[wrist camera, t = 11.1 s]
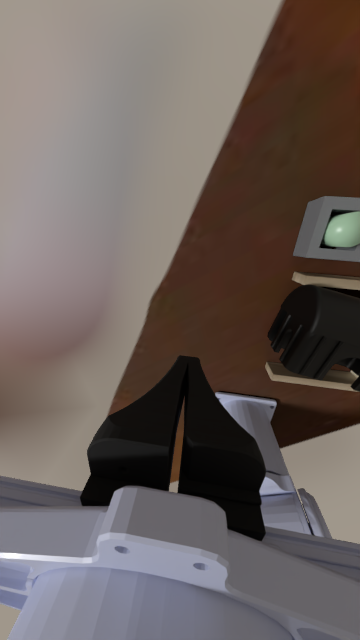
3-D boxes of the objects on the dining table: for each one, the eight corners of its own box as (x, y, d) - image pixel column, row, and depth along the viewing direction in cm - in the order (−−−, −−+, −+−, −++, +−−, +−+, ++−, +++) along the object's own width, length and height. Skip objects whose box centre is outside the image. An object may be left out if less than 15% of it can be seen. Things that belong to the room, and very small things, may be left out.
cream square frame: (354, 378, 22) (370, 393, 20) (265, 367, 23) (271, 380, 21) (407, 281, 18) (436, 287, 16) (294, 271, 19) (306, 275, 16)
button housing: (340, 259, 18) (361, 261, 16) (292, 255, 18) (305, 257, 16) (362, 205, 16) (388, 199, 14) (308, 202, 16) (325, 196, 14)
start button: (335, 247, 17) (362, 248, 14) (308, 245, 17) (329, 245, 15) (346, 217, 16) (378, 212, 13) (317, 215, 16) (342, 210, 14)
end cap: (387, 303, 19) (477, 334, 13) (344, 359, 22) (401, 407, 16) (291, 276, 19) (334, 293, 13) (261, 336, 22) (284, 374, 16)
